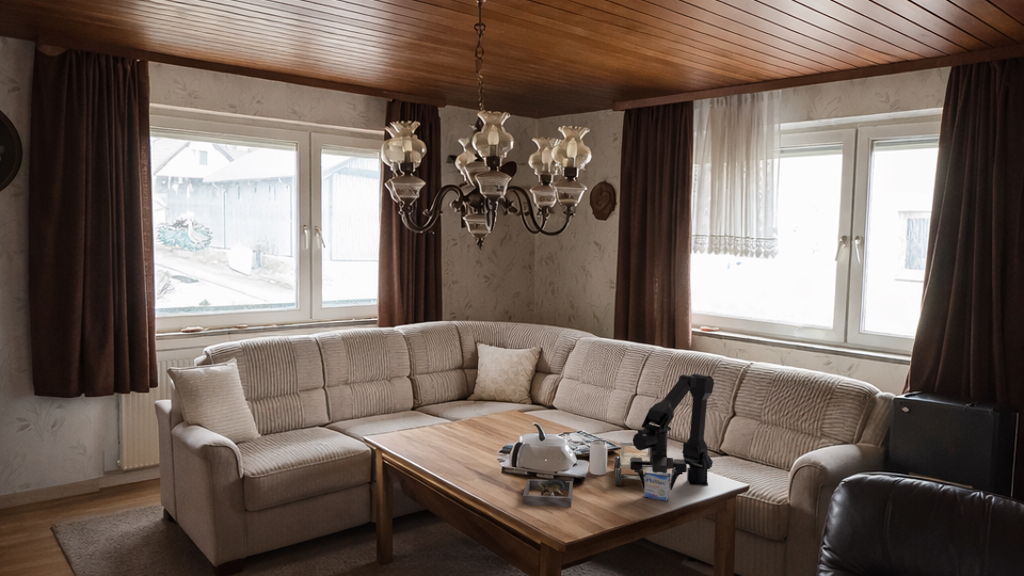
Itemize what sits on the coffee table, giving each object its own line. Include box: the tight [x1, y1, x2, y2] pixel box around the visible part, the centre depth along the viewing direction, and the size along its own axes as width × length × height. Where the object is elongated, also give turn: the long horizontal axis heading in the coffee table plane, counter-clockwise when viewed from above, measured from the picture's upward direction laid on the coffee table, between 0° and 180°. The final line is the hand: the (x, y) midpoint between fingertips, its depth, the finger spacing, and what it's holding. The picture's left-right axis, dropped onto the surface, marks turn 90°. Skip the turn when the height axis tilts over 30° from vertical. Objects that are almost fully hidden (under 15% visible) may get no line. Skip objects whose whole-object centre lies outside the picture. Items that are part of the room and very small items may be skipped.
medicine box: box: [643, 470, 672, 502], centre depth 244 cm, size 8×4×9 cm, turn 62°
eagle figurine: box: [538, 477, 568, 496], centre depth 244 cm, size 8×7×9 cm
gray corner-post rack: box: [613, 441, 652, 487], centre depth 261 cm, size 16×20×12 cm
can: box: [589, 439, 608, 477], centre depth 268 cm, size 6×6×12 cm
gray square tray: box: [522, 478, 574, 508], centre depth 243 cm, size 16×16×3 cm
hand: (657, 489), depth 244 cm, fingers open, 9 cm apart
